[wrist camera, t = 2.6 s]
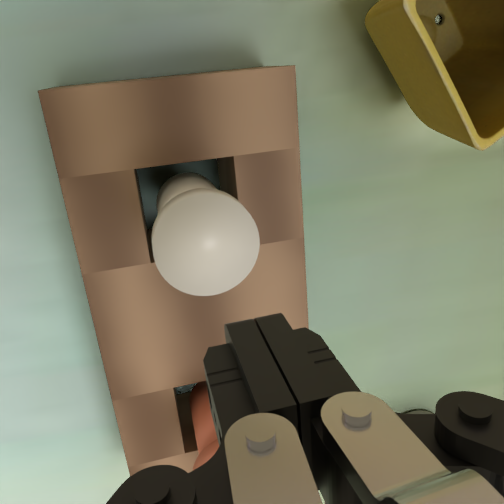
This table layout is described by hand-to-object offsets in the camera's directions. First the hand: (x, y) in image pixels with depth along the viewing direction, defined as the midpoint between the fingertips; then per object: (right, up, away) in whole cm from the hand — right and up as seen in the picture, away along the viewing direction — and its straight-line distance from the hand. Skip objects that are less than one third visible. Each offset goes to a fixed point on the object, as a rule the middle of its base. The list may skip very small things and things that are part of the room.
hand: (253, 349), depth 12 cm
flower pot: (+10, +16, +18) cm, 27 cm away
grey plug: (-4, +5, +14) cm, 15 cm away
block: (-4, +1, +20) cm, 21 cm away
